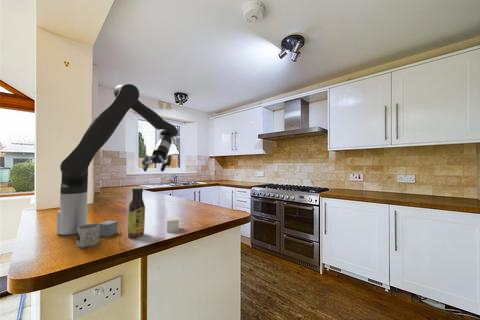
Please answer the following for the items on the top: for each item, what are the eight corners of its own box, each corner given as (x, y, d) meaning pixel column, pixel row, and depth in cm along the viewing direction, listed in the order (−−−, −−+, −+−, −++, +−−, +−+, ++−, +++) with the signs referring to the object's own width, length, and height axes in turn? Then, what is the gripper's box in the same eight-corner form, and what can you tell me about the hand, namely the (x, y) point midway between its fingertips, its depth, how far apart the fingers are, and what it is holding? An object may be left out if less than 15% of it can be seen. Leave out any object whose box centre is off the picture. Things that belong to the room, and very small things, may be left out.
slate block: (97, 235, 82) (98, 223, 82) (108, 231, 87) (108, 220, 87) (107, 236, 81) (107, 224, 81) (117, 232, 86) (117, 221, 86)
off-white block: (166, 232, 86) (167, 221, 86) (166, 228, 91) (166, 218, 91) (178, 231, 88) (178, 219, 88) (177, 227, 93) (178, 217, 93)
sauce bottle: (137, 238, 78) (137, 189, 79) (123, 237, 80) (124, 188, 80) (147, 233, 85) (148, 187, 85) (135, 232, 86) (136, 187, 86)
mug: (80, 242, 75) (80, 224, 75) (101, 239, 78) (101, 222, 78) (70, 253, 66) (70, 233, 66) (94, 249, 69) (94, 230, 69)
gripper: (147, 144, 108) (136, 165, 96) (173, 144, 108) (165, 165, 97) (151, 154, 113) (141, 175, 101) (175, 154, 114) (169, 175, 102)
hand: (153, 170), depth 99 cm, fingers open, 8 cm apart
